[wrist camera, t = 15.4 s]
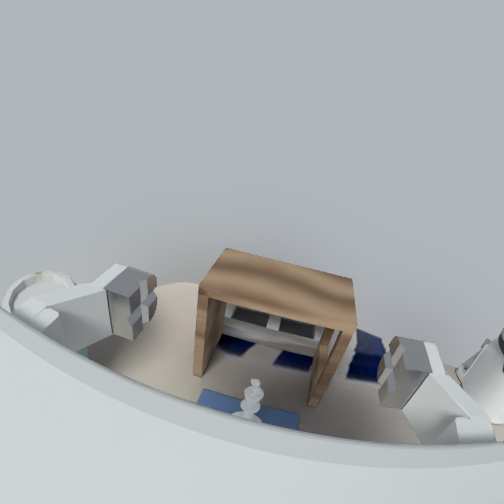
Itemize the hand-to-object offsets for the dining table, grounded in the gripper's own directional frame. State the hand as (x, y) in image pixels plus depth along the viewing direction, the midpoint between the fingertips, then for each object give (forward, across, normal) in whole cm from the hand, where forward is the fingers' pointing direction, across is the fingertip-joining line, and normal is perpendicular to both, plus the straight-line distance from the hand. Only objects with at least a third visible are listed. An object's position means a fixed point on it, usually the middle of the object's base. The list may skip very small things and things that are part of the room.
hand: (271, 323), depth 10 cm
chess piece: (+12, 0, +28) cm, 30 cm away
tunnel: (+28, 0, +28) cm, 39 cm away
